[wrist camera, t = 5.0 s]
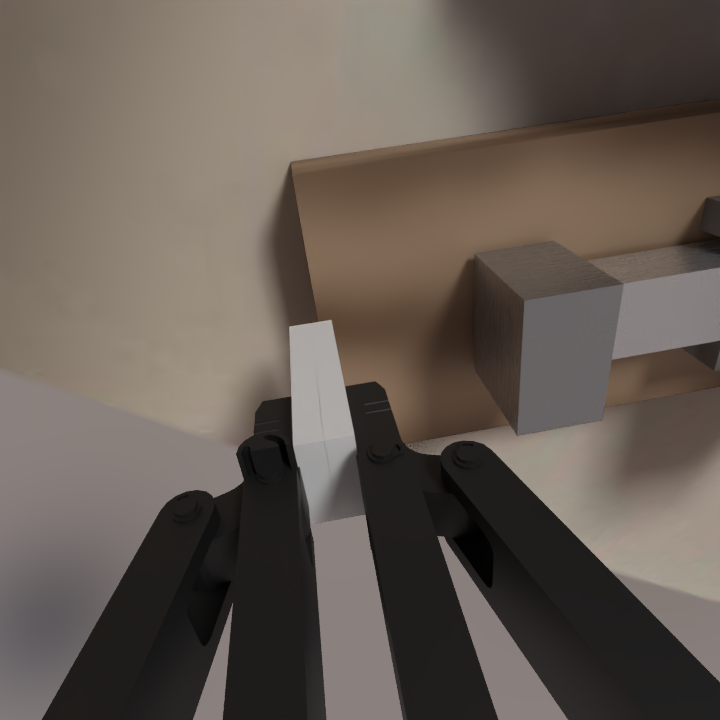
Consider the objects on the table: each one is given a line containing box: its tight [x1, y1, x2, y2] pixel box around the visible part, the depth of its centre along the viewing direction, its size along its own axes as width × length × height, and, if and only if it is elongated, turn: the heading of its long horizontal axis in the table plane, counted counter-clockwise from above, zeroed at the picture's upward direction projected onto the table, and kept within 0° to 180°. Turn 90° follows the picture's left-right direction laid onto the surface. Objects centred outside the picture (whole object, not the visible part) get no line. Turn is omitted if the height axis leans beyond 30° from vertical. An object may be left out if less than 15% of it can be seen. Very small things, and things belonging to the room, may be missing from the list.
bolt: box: [474, 239, 720, 436], centre depth 18 cm, size 5×13×4 cm, turn 97°
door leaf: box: [291, 99, 720, 444], centre depth 20 cm, size 12×20×5 cm, turn 97°
